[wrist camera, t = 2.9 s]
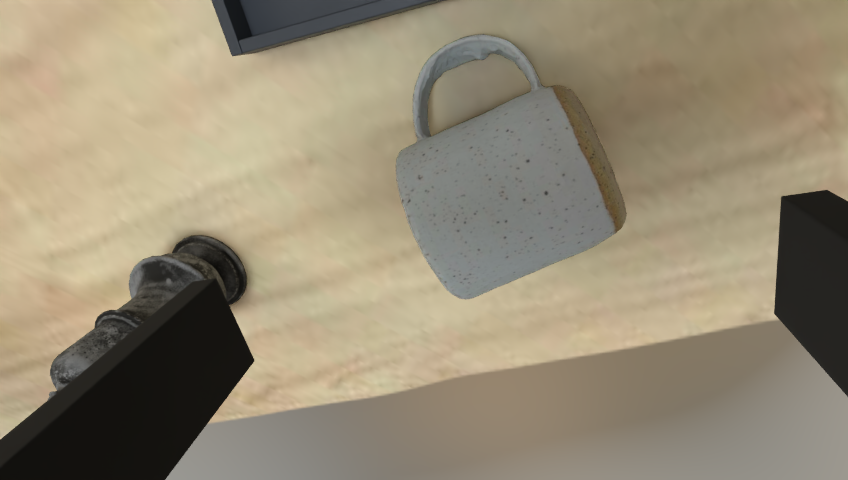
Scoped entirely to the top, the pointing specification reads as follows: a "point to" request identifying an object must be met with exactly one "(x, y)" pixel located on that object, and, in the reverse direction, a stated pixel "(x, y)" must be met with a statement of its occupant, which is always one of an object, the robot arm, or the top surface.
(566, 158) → the ceramic mug
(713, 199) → the top surface
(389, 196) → the top surface
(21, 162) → the top surface
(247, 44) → the tray
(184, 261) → the dark chess piece
